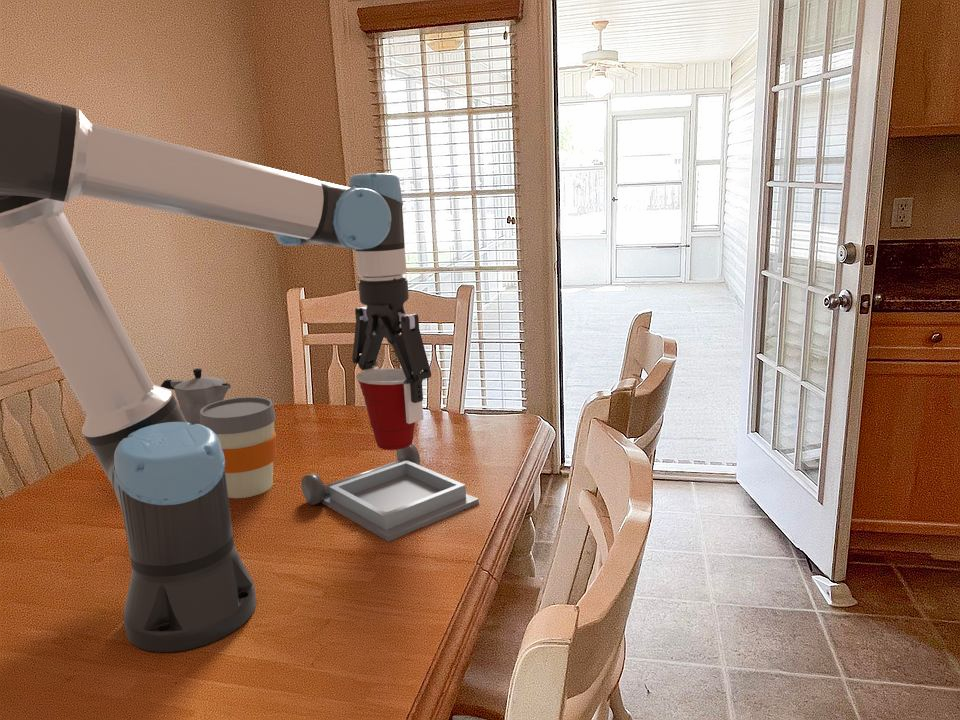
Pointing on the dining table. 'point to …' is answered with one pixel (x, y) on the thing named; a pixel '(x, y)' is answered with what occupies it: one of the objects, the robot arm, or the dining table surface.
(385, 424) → the plastic cup
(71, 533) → the dining table surface
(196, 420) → the coffeepot
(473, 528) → the dining table surface
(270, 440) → the reusable coffee cup
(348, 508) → the tray
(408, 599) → the dining table surface
